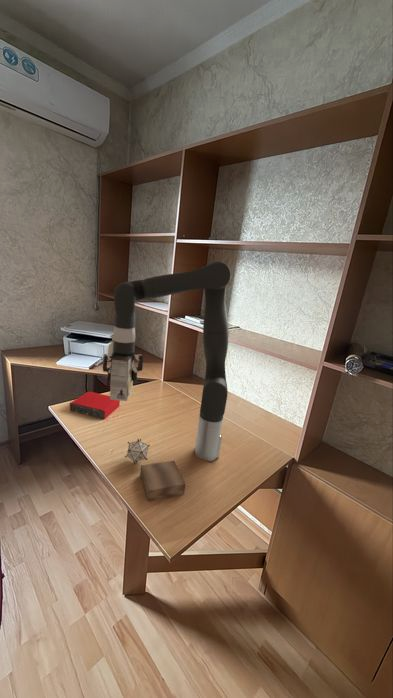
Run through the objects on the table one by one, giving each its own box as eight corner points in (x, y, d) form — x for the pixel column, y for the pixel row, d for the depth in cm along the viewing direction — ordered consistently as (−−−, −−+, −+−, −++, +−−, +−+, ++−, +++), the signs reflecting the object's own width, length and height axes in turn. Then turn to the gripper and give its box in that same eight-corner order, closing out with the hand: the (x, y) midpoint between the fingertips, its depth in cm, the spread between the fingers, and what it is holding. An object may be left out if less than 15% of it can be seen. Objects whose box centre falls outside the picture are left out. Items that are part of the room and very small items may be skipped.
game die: (138, 452, 113) (140, 429, 110) (153, 463, 108) (155, 439, 105) (119, 462, 106) (120, 438, 103) (134, 474, 101) (136, 449, 98)
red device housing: (69, 412, 136) (69, 402, 135) (87, 400, 149) (87, 391, 148) (104, 420, 132) (104, 410, 131) (119, 407, 146) (119, 398, 145)
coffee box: (116, 389, 114) (118, 350, 110) (132, 391, 114) (134, 352, 110) (109, 399, 105) (110, 357, 101) (127, 401, 105) (129, 359, 101)
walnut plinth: (173, 470, 105) (174, 460, 104) (184, 494, 95) (185, 483, 94) (140, 475, 101) (141, 465, 100) (147, 501, 90) (148, 490, 89)
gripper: (142, 336, 110) (139, 377, 114) (102, 336, 105) (101, 378, 109) (146, 342, 104) (143, 384, 108) (104, 341, 98) (102, 386, 102)
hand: (122, 381), depth 108 cm, fingers closed on coffee box, 8 cm apart
